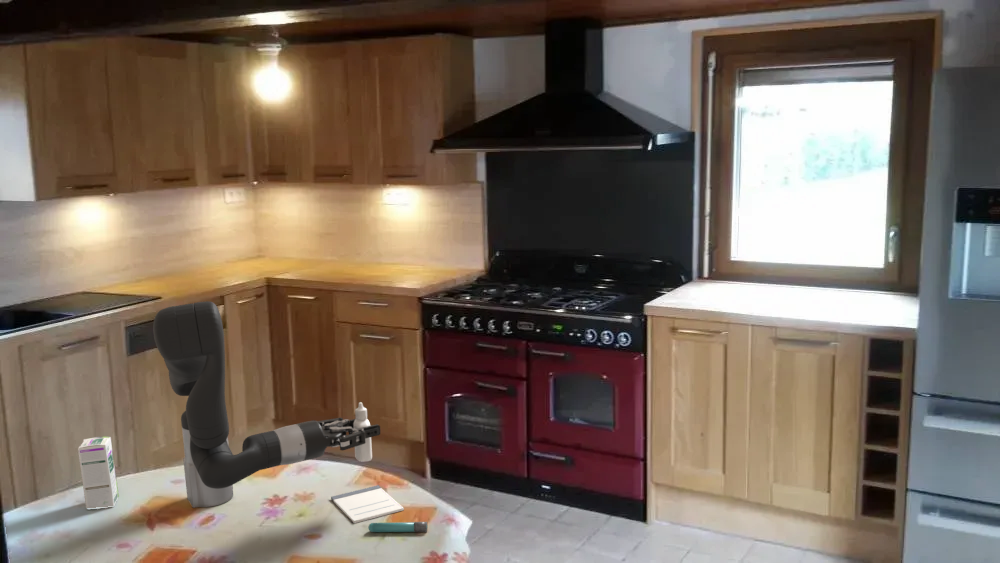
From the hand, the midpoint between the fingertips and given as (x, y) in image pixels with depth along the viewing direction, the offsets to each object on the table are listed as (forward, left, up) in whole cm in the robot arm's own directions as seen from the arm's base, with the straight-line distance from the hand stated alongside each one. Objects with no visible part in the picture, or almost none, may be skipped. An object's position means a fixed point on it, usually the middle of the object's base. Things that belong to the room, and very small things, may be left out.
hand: (372, 425), depth 187 cm
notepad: (-2, 0, -17) cm, 17 cm away
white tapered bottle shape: (-2, 0, -7) cm, 7 cm away
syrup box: (-51, +33, -17) cm, 63 cm away
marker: (-2, -16, -17) cm, 23 cm away
